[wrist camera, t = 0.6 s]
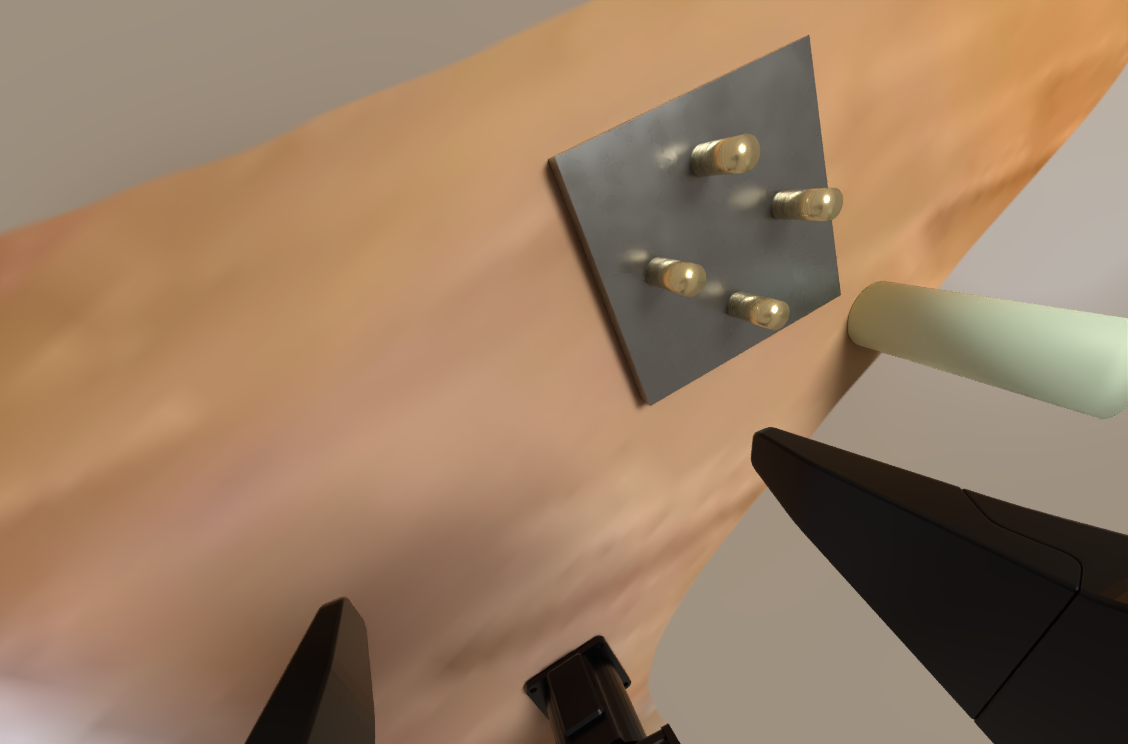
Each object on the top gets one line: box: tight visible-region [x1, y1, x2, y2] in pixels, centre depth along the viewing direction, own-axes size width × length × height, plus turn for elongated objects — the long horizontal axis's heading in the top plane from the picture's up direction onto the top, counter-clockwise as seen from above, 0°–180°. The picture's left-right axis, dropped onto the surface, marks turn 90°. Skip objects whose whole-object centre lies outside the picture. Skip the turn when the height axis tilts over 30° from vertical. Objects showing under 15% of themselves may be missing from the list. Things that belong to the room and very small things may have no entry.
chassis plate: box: [548, 35, 843, 406], centre depth 22 cm, size 14×14×4 cm
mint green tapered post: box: [848, 281, 1128, 419], centre depth 25 cm, size 4×4×12 cm
